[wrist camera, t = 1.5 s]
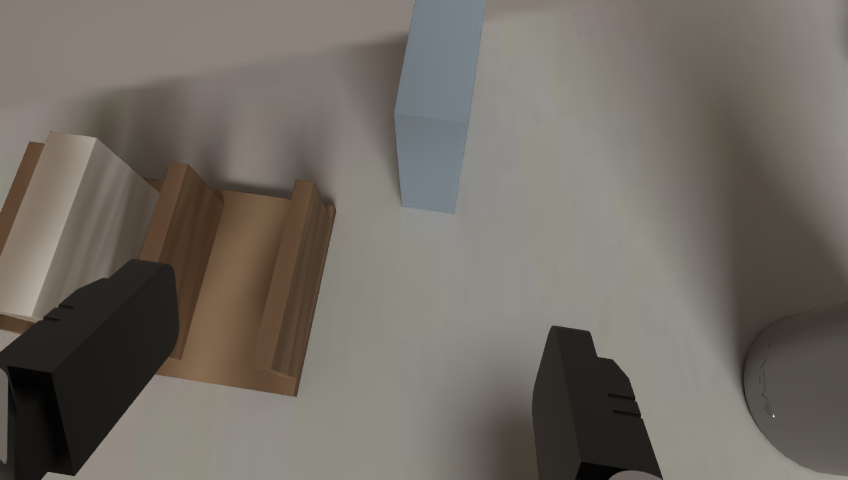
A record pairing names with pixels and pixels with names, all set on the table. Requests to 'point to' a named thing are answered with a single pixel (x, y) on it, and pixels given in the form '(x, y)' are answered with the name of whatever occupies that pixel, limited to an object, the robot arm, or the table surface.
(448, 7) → the pale blue upright slab
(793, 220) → the table surface
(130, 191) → the rack
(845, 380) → the robot arm
